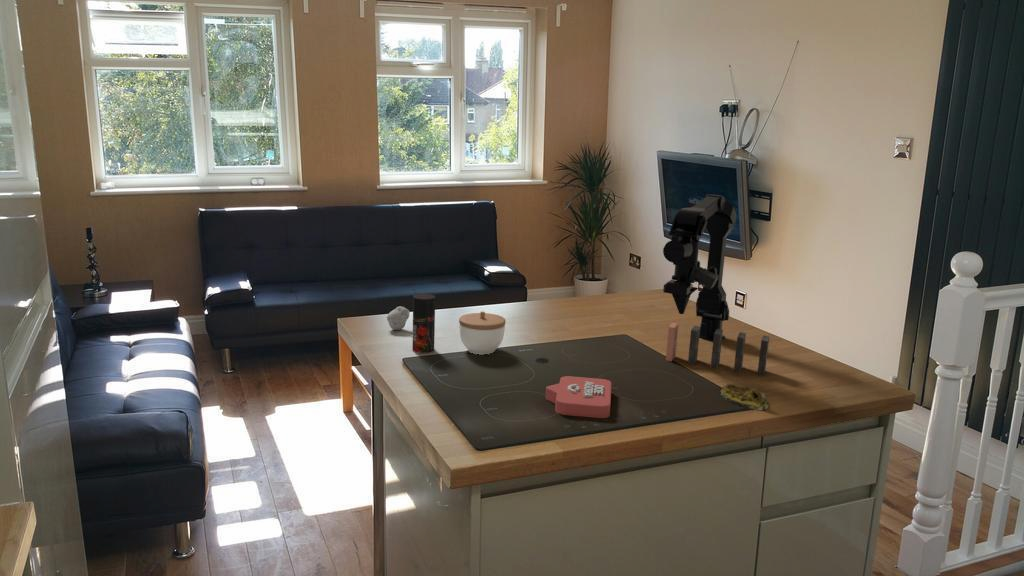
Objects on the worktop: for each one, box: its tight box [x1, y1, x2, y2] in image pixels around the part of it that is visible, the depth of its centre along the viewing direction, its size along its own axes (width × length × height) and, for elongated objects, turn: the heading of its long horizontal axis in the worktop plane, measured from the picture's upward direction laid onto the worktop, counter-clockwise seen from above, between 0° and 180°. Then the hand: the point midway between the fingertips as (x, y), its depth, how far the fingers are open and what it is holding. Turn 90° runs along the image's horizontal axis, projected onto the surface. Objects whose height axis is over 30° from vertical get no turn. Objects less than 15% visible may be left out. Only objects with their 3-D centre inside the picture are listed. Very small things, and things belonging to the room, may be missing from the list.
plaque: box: [545, 375, 612, 419], centre depth 180 cm, size 18×4×15 cm
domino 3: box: [710, 329, 724, 370], centre depth 209 cm, size 2×5×10 cm, turn 158°
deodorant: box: [412, 293, 436, 354], centre depth 211 cm, size 6×6×15 cm
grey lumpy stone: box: [386, 306, 410, 331], centre depth 230 cm, size 6×7×7 cm
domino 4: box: [733, 331, 747, 373], centre depth 207 cm, size 2×5×10 cm, turn 158°
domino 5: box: [756, 335, 770, 377], centre depth 205 cm, size 2×5×10 cm, turn 157°
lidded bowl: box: [458, 311, 507, 356], centre depth 213 cm, size 13×13×11 cm
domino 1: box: [665, 322, 679, 362], centre depth 213 cm, size 2×5×10 cm, turn 156°
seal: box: [720, 383, 769, 411], centre depth 186 cm, size 9×5×15 cm
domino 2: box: [687, 325, 700, 366], centre depth 211 cm, size 2×5×10 cm, turn 157°
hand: (681, 313), depth 211 cm, fingers closed
